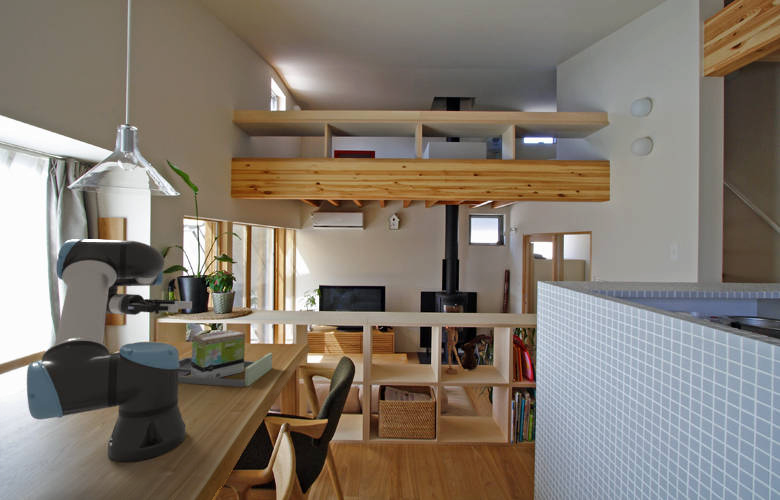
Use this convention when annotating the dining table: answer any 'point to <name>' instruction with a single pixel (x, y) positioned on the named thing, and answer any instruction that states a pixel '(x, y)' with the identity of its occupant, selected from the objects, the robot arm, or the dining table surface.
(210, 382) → the channel
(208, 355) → the tea box
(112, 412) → the dining table surface
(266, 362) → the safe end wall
